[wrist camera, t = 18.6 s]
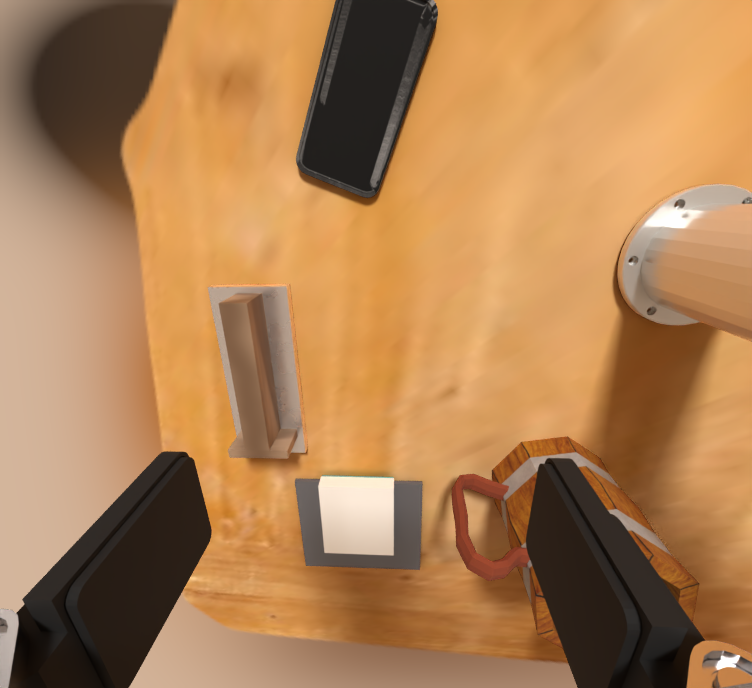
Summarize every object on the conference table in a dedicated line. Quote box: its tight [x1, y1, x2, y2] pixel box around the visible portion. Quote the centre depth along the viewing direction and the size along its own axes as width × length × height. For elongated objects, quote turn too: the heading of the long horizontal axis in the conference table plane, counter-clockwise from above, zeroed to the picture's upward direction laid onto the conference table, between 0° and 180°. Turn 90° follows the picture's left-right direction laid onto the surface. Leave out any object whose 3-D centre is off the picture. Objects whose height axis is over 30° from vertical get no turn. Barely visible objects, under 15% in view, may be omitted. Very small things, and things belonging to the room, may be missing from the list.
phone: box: [296, 0, 438, 198], centre depth 30 cm, size 8×1×15 cm
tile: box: [318, 475, 394, 556], centre depth 46 cm, size 9×2×11 cm
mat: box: [295, 479, 422, 570], centre depth 48 cm, size 16×15×1 cm
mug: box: [452, 437, 699, 648], centre depth 37 cm, size 20×14×15 cm
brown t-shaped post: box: [218, 293, 298, 459], centre depth 37 cm, size 6×17×4 cm, turn 1°
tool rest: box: [208, 284, 308, 453], centre depth 40 cm, size 8×20×1 cm, turn 1°
